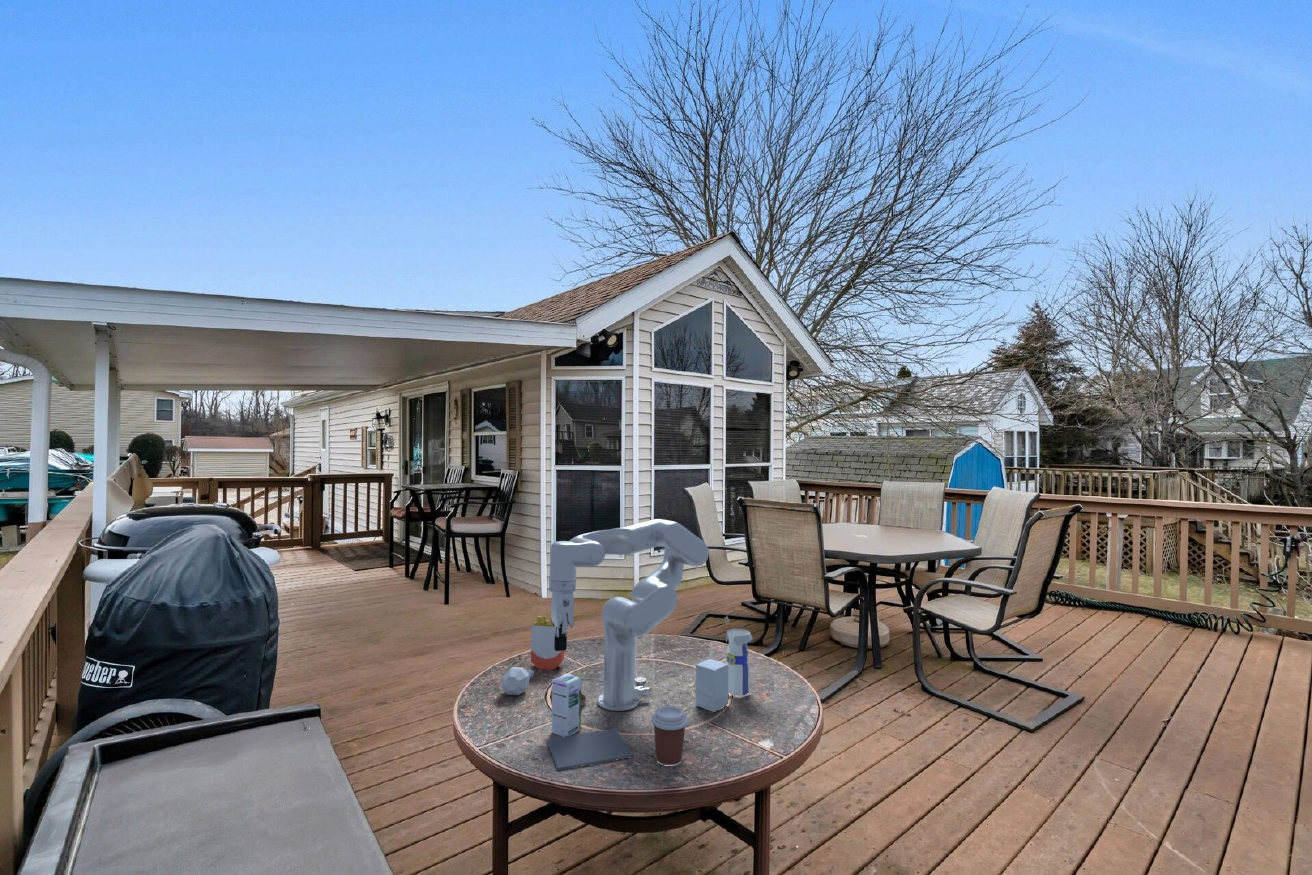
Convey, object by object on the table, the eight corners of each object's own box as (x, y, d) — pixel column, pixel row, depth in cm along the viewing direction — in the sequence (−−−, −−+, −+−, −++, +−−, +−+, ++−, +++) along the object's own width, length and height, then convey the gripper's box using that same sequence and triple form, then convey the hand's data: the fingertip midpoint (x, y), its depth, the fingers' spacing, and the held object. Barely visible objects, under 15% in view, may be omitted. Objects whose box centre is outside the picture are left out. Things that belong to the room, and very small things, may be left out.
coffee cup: (658, 747, 155) (659, 701, 155) (692, 755, 151) (693, 707, 151) (644, 764, 146) (645, 715, 146) (679, 773, 143) (680, 722, 143)
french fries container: (534, 663, 213) (535, 612, 213) (564, 665, 212) (565, 614, 212) (530, 668, 208) (531, 616, 209) (561, 670, 207) (562, 617, 208)
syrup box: (567, 738, 159) (568, 683, 159) (550, 732, 162) (551, 678, 162) (581, 729, 164) (582, 676, 164) (564, 724, 167) (565, 672, 167)
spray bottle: (739, 701, 184) (740, 619, 185) (718, 692, 191) (720, 613, 191) (756, 694, 190) (757, 615, 190) (735, 685, 196) (737, 609, 197)
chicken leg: (543, 681, 199) (535, 656, 201) (528, 691, 182) (519, 664, 184) (520, 690, 199) (512, 666, 201) (502, 702, 182) (494, 675, 184)
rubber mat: (615, 730, 164) (616, 728, 164) (633, 757, 150) (633, 755, 150) (546, 741, 157) (546, 738, 157) (557, 770, 143) (558, 767, 143)
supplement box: (728, 706, 181) (729, 664, 181) (714, 713, 175) (714, 670, 176) (709, 698, 186) (710, 658, 186) (694, 706, 180) (695, 663, 181)
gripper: (581, 590, 165) (579, 657, 165) (569, 579, 179) (567, 640, 179) (554, 591, 163) (552, 659, 162) (544, 580, 177) (542, 642, 176)
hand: (560, 649), depth 170 cm, fingers closed
